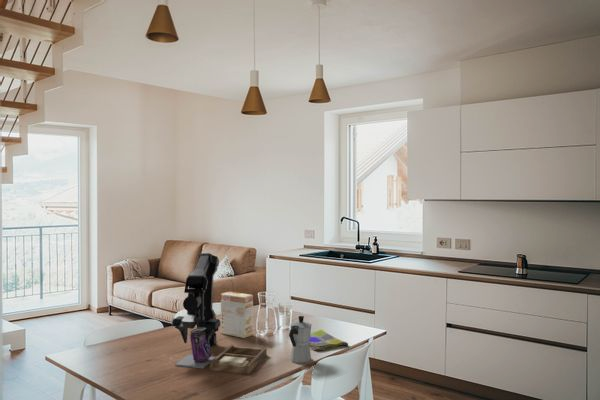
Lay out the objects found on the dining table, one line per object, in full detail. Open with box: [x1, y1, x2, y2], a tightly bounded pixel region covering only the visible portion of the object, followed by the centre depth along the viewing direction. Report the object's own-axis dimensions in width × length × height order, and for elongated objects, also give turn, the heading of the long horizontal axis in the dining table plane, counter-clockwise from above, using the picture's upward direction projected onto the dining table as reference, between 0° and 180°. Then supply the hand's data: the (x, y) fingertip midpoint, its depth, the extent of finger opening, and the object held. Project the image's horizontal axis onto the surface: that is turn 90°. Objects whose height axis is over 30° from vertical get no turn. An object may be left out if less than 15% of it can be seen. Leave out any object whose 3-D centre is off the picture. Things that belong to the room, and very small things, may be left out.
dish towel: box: [308, 329, 349, 352], centre depth 219 cm, size 18×24×3 cm
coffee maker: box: [288, 315, 312, 364], centre depth 193 cm, size 15×9×18 cm, turn 150°
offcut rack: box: [209, 344, 268, 375], centre depth 191 cm, size 16×22×3 cm
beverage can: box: [189, 327, 212, 362], centre depth 190 cm, size 7×7×12 cm
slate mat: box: [174, 353, 217, 369], centre depth 191 cm, size 12×12×1 cm
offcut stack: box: [219, 356, 249, 366], centre depth 185 cm, size 11×6×4 cm, turn 78°
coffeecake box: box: [220, 291, 254, 339], centre depth 229 cm, size 15×7×20 cm, turn 58°
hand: (196, 344), depth 191 cm, fingers open, 9 cm apart
